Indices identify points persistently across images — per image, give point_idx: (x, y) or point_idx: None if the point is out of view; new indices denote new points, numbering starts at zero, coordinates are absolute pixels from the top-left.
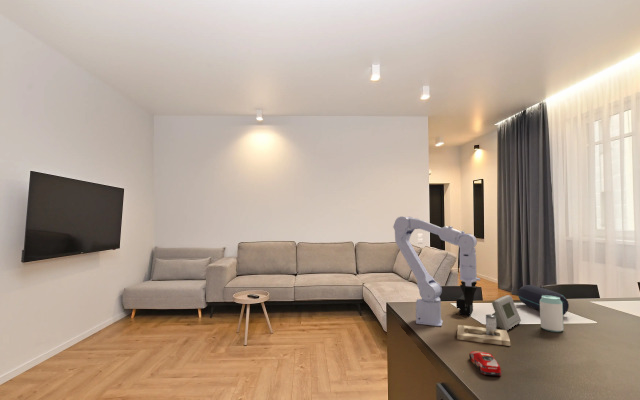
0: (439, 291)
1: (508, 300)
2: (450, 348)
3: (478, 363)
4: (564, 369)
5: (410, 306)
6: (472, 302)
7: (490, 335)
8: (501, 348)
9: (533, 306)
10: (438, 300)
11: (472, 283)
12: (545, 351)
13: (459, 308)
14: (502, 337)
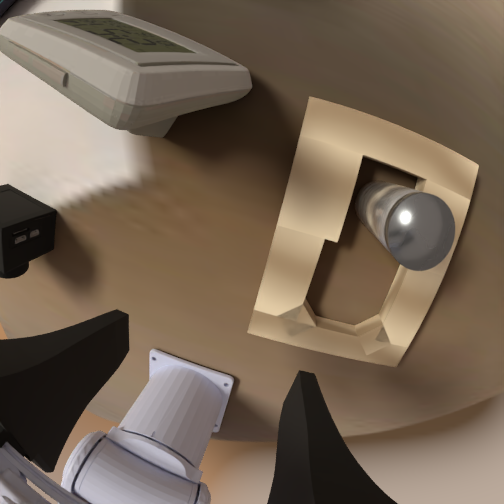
0: (120, 471)
1: (46, 21)
2: (460, 380)
3: None
4: None
5: None
6: (320, 391)
7: None
8: (488, 216)
9: (5, 8)
10: (172, 457)
11: (13, 412)
12: (486, 61)
13: (34, 258)
14: (437, 175)
